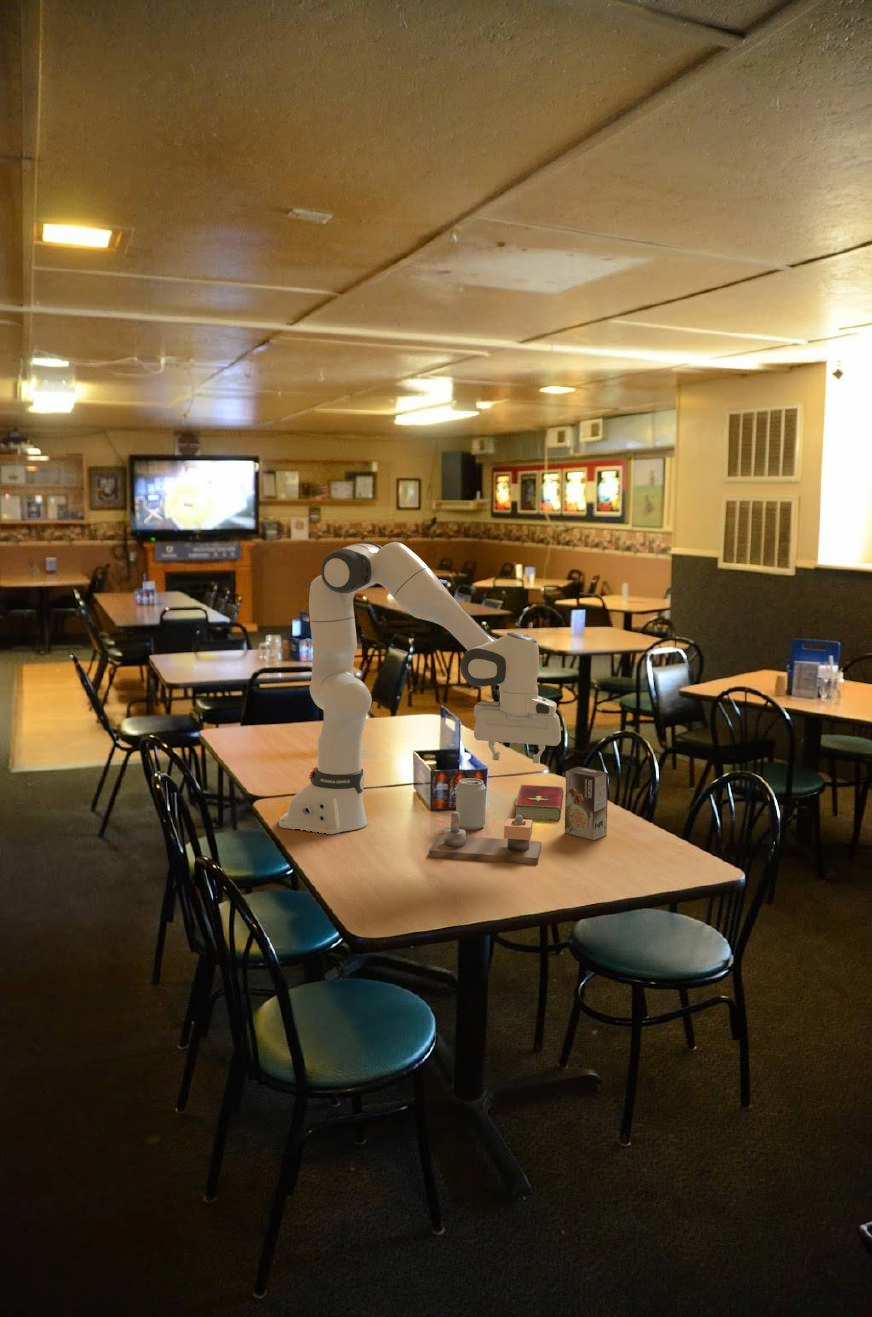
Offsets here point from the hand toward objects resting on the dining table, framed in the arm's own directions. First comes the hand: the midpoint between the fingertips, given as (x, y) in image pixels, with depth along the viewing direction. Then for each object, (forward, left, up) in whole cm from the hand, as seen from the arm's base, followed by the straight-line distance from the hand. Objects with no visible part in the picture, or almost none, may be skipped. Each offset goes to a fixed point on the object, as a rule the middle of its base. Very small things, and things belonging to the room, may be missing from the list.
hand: (516, 761), depth 235 cm
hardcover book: (+3, +37, -22) cm, 43 cm away
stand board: (-6, -3, -22) cm, 23 cm away
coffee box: (+16, +16, -22) cm, 32 cm away
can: (-13, +16, -22) cm, 30 cm away
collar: (+1, -3, -17) cm, 17 cm away
